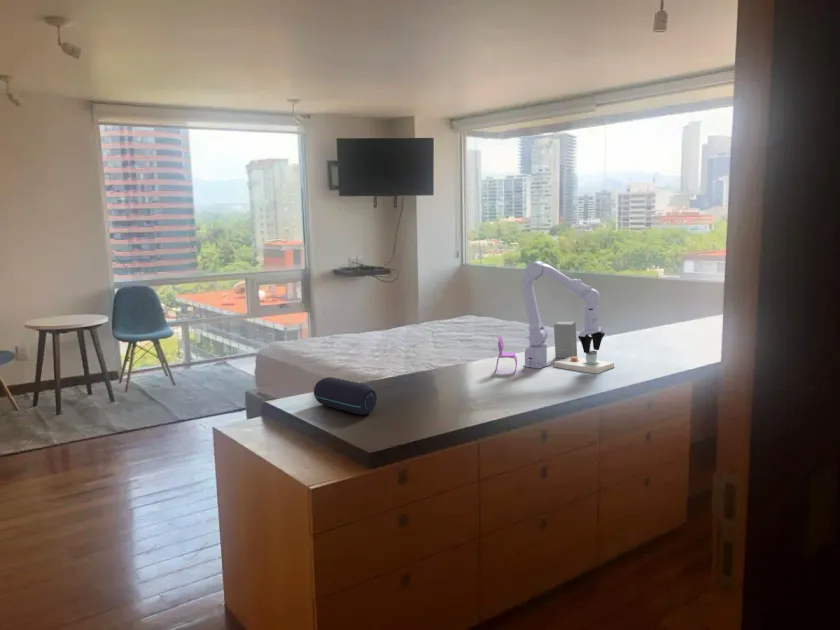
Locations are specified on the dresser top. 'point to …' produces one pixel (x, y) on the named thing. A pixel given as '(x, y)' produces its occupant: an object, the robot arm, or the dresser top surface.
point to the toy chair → (503, 354)
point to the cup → (591, 358)
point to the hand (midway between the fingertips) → (591, 351)
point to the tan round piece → (574, 359)
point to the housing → (584, 365)
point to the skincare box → (565, 339)
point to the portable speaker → (345, 395)
